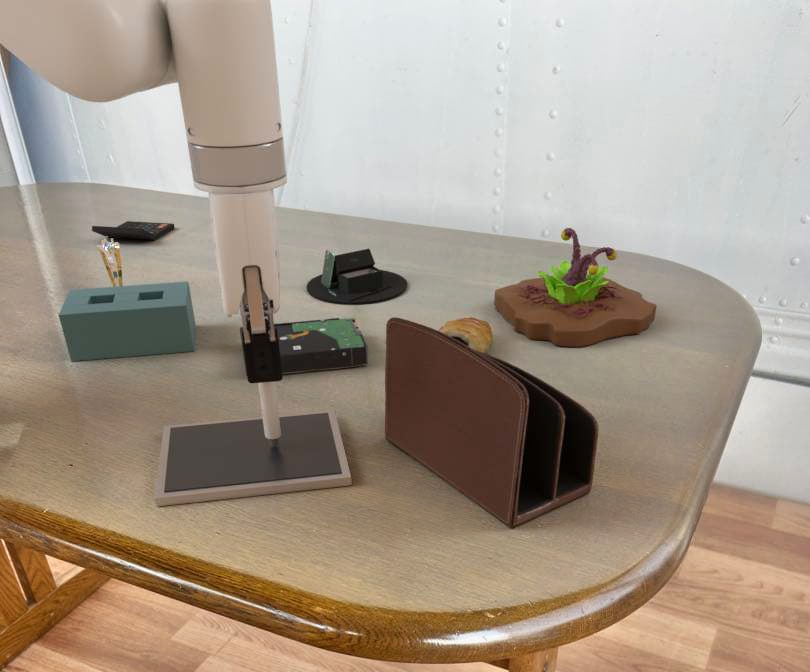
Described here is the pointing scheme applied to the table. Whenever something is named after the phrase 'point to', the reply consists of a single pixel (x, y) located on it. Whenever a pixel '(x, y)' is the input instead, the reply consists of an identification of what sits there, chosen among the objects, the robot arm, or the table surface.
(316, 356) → the disk drive
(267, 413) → the stylus
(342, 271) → the round circuit board stand
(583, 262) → the plant
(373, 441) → the table surface
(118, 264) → the ring
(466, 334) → the pastry
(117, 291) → the dock
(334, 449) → the tablet
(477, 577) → the table surface
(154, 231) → the calculator
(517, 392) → the letter holder
